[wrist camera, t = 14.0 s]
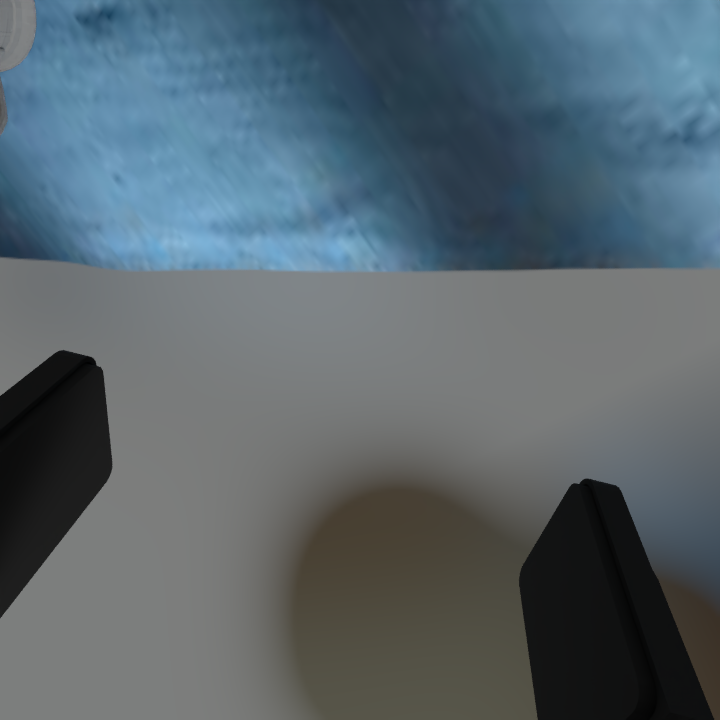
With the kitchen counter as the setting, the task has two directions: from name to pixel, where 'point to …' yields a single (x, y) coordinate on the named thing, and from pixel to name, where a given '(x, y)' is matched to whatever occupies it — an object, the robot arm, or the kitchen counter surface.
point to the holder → (14, 40)
